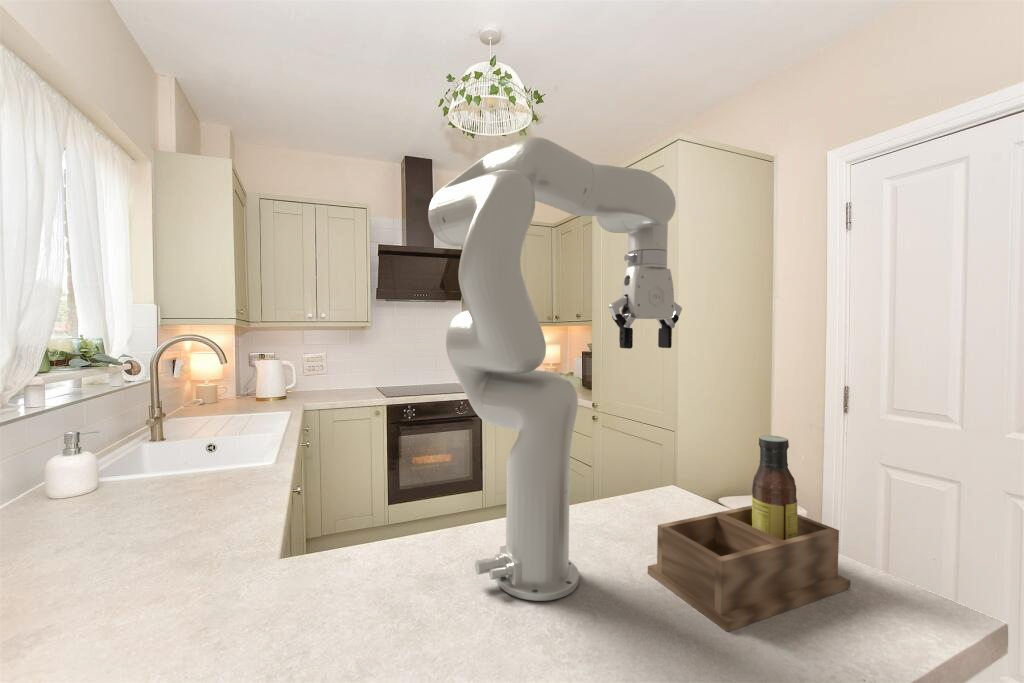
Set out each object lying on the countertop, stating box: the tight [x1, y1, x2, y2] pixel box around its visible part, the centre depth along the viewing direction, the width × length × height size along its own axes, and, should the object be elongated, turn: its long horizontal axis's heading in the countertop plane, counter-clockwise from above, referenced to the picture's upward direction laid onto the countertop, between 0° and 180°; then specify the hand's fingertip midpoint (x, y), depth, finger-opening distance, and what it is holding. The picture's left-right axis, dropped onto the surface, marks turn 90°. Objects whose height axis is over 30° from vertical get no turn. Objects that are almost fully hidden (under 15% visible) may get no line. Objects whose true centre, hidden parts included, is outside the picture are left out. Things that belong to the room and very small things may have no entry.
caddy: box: [647, 504, 851, 633], centre depth 70 cm, size 25×15×8 cm, turn 114°
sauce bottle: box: [751, 434, 798, 540], centre depth 72 cm, size 7×6×20 cm
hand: (645, 348), depth 93 cm, fingers open, 9 cm apart
